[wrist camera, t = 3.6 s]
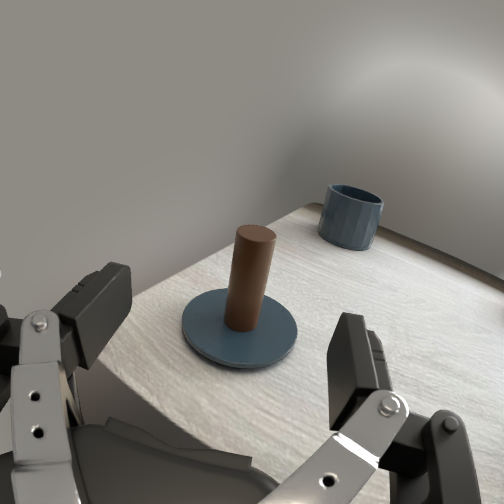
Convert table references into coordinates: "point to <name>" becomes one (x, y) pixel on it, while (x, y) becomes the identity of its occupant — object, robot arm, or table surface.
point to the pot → (350, 217)
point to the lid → (242, 310)
